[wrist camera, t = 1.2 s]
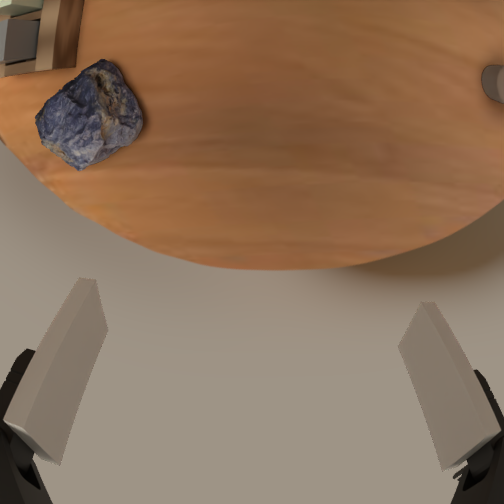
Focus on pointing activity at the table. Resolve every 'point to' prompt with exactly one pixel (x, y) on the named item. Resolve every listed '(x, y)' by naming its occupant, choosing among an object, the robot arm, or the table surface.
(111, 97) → the rock
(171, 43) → the table surface
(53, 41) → the block
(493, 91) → the cup
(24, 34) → the charcoal key
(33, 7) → the sage key
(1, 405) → the robot arm
